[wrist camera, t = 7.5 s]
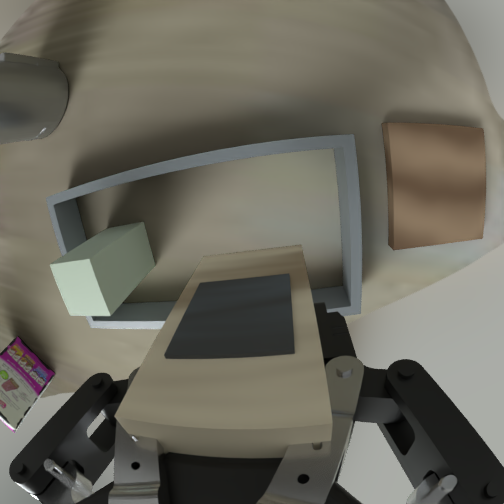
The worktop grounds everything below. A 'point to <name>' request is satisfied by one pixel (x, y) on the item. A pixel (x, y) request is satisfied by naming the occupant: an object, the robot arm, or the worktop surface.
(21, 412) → the candy bar box
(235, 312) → the birch block
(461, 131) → the walnut board
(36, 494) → the robot arm
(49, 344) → the worktop surface
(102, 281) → the sage block
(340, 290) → the grey bin
